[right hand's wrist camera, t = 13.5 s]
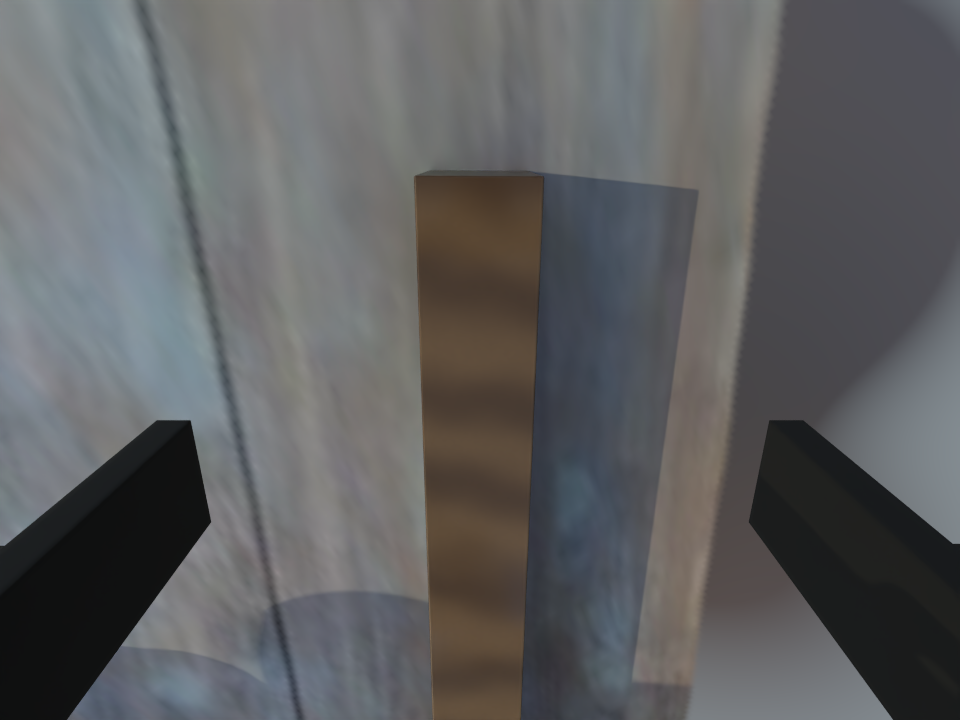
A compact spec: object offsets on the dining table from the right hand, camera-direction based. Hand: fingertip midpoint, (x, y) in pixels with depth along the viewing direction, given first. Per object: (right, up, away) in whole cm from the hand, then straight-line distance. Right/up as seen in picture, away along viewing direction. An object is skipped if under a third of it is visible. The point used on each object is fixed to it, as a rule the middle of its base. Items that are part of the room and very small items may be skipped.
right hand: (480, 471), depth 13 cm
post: (0, -18, +30) cm, 35 cm away
